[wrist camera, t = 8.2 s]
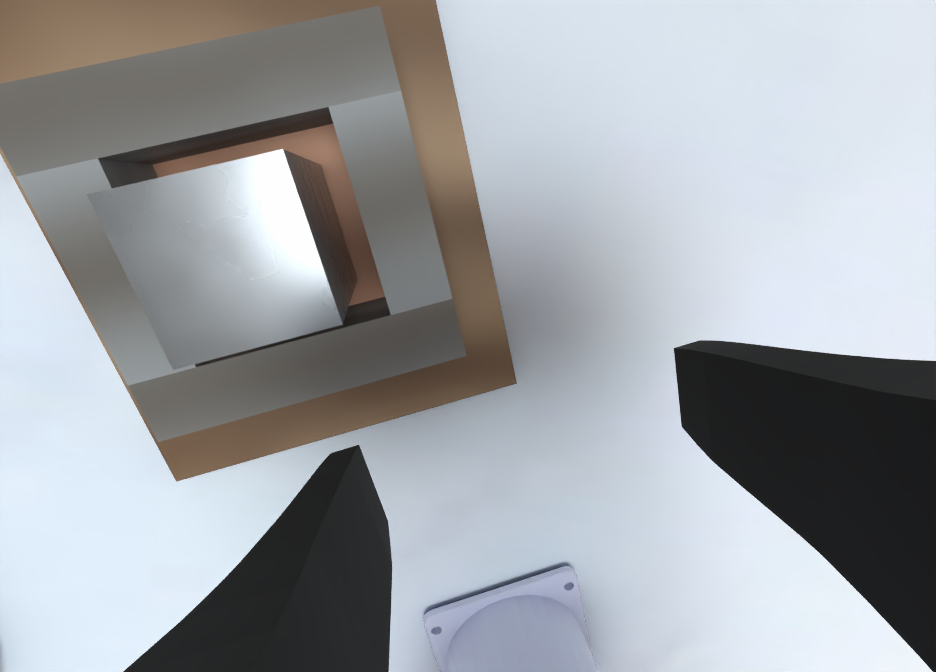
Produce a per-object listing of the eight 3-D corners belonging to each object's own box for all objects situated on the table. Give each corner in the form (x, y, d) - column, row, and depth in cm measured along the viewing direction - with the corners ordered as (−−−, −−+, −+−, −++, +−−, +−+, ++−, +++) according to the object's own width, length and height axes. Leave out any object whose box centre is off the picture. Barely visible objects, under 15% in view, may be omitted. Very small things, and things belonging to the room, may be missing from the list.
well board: (511, 376, 20) (539, 416, 16) (184, 469, 19) (136, 535, 15) (415, -71, 14) (425, -157, 11) (-51, 19, 13) (-213, -45, 10)
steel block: (357, 279, 17) (342, 324, 11) (247, 307, 16) (172, 370, 11) (321, 164, 15) (282, 149, 10) (200, 193, 15) (86, 194, 9)
